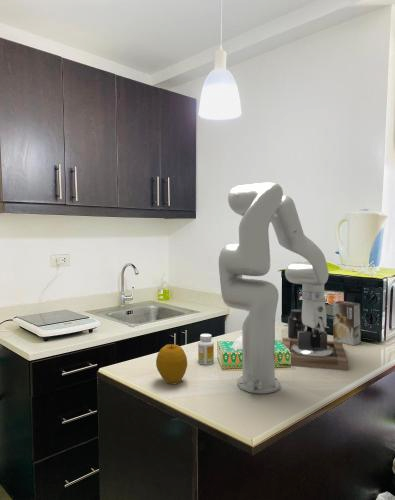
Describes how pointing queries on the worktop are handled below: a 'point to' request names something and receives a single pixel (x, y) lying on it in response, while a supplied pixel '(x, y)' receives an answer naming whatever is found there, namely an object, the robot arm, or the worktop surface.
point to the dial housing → (333, 362)
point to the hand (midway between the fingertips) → (312, 345)
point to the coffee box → (346, 322)
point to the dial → (305, 345)
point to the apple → (171, 363)
